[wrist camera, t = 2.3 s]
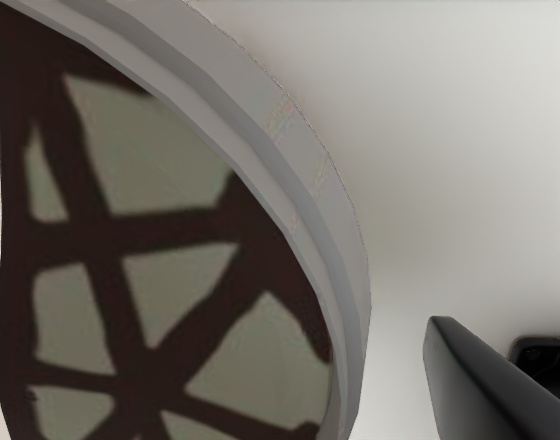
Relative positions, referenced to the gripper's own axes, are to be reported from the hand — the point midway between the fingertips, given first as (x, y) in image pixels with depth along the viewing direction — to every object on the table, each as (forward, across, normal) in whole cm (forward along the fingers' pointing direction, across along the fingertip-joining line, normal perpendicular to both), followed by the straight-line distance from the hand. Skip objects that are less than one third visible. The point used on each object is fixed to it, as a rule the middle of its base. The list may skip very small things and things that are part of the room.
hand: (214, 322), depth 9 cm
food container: (+7, 0, 0) cm, 7 cm away
